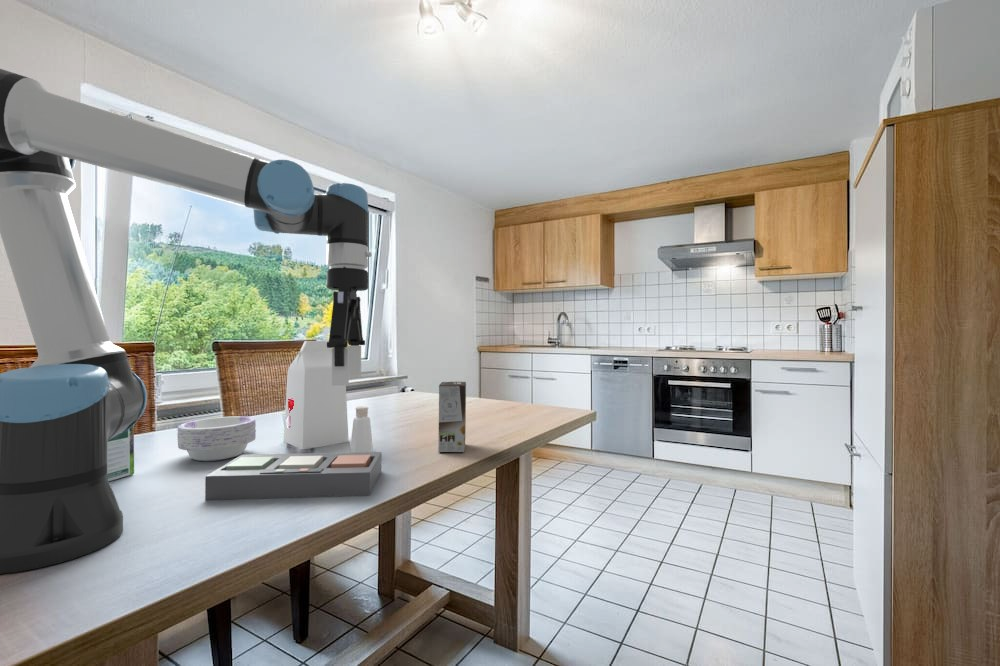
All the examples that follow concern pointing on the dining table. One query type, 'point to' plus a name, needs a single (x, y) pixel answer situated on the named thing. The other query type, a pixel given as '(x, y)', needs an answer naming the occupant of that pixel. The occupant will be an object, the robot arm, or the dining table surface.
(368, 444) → the pepper shaker
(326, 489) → the keypad
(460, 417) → the coffee box
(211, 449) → the paper bowls
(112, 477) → the syrup box
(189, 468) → the dining table surface
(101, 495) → the robot arm
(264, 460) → the sage key
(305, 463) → the cream key
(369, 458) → the terracotta key
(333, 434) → the milk
